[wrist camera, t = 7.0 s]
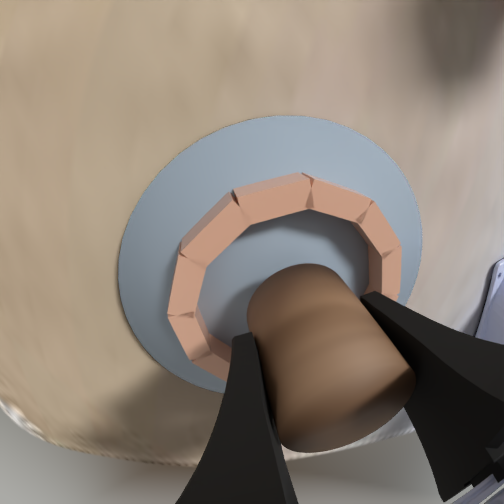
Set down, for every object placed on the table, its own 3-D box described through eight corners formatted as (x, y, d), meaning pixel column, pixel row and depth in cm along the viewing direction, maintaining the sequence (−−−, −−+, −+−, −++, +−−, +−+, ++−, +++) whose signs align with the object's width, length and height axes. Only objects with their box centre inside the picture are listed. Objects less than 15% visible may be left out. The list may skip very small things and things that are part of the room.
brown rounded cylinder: (347, 330, 12) (403, 419, 8) (258, 359, 12) (288, 464, 8) (343, 250, 10) (427, 340, 6) (234, 282, 10) (265, 403, 6)
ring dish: (406, 338, 17) (420, 356, 15) (189, 409, 16) (190, 433, 14) (406, 97, 10) (433, 98, 9) (70, 179, 10) (50, 190, 8)
